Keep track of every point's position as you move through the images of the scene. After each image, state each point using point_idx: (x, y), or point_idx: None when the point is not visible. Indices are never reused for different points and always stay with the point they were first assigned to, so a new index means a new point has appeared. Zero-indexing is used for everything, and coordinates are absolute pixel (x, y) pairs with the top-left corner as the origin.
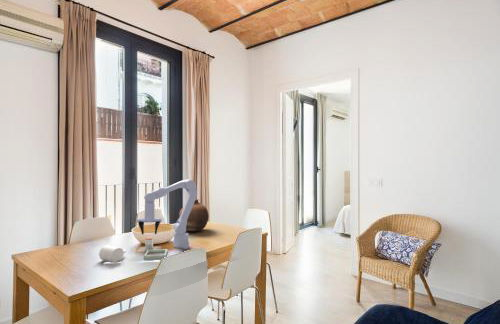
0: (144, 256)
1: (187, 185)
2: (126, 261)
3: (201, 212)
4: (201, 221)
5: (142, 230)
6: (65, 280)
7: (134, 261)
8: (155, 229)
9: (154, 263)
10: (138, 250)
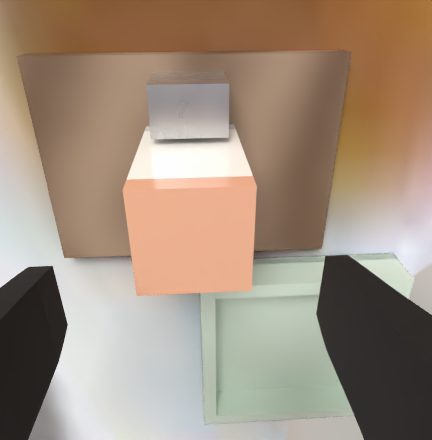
0: (209, 421)
1: None
2: (78, 402)
3: None
4: None
5: (28, 422)
6: None
7: (139, 403)
8: (368, 427)
9: (286, 431)
10: (78, 211)
